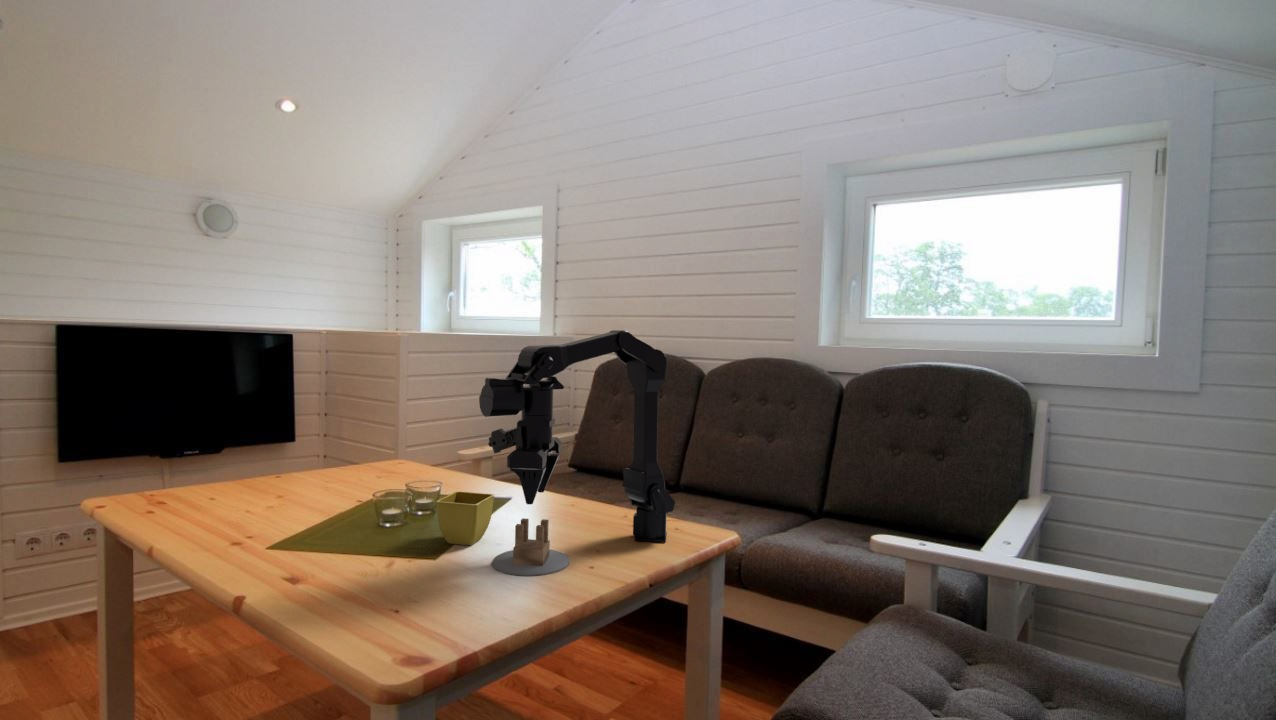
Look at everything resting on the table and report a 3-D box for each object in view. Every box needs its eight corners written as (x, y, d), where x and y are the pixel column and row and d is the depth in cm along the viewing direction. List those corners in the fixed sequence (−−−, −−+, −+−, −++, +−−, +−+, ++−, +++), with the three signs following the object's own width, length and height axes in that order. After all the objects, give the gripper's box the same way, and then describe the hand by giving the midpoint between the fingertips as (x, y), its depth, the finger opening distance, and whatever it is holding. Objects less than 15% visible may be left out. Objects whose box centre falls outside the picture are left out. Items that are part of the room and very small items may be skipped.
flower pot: (475, 550, 129) (476, 504, 129) (434, 546, 131) (434, 500, 131) (494, 537, 138) (495, 494, 138) (455, 533, 140) (455, 491, 139)
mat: (575, 552, 130) (575, 550, 130) (561, 578, 116) (561, 575, 116) (504, 548, 131) (504, 546, 131) (482, 573, 117) (482, 571, 117)
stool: (549, 556, 126) (550, 519, 126) (542, 566, 120) (543, 527, 120) (520, 554, 126) (521, 517, 126) (512, 564, 121) (513, 526, 121)
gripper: (507, 407, 133) (506, 485, 134) (478, 418, 114) (476, 509, 115) (563, 409, 132) (561, 487, 133) (542, 421, 114) (540, 511, 114)
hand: (535, 498), depth 124 cm, fingers open, 9 cm apart
